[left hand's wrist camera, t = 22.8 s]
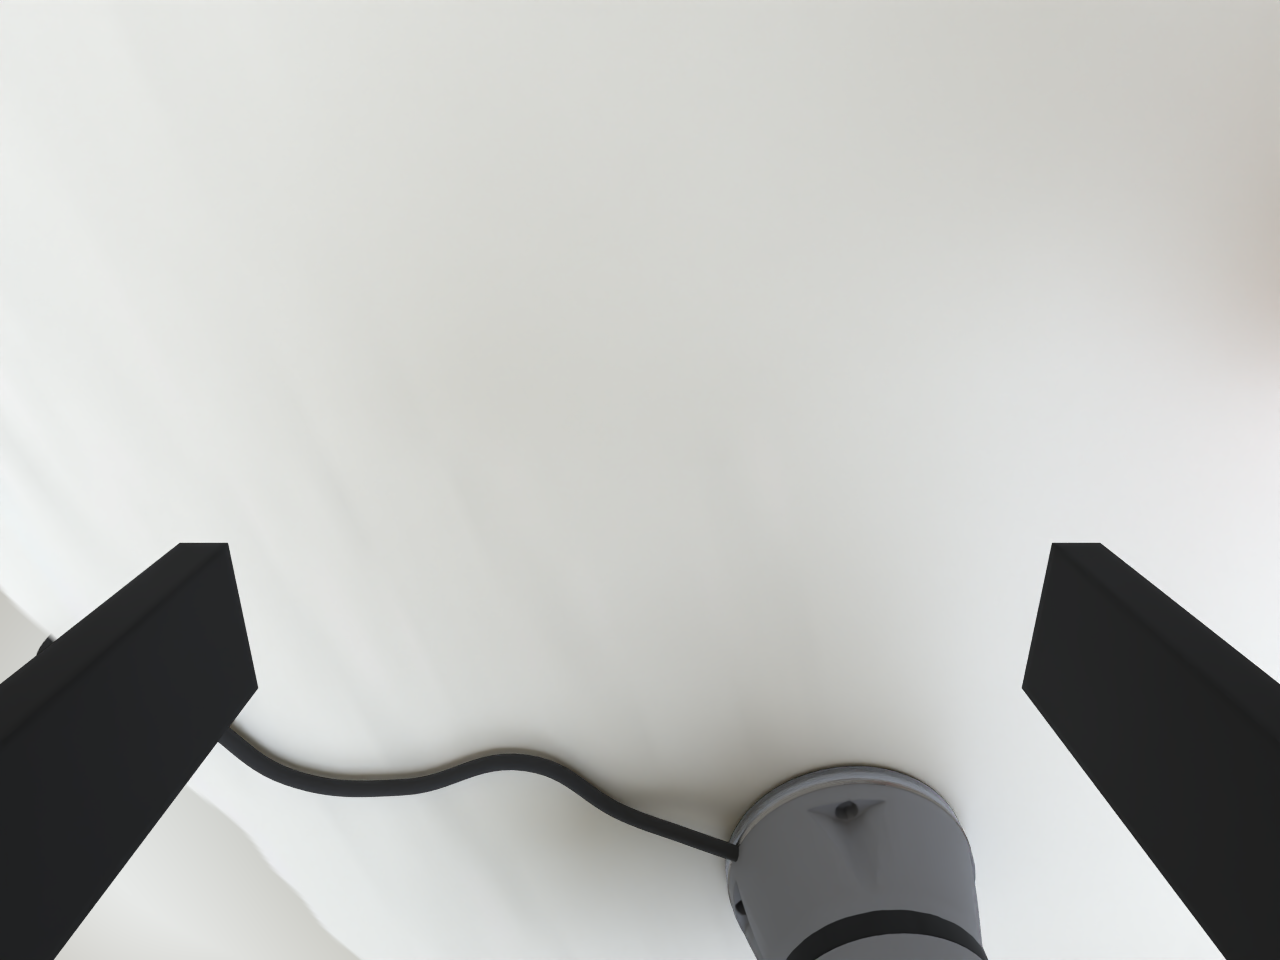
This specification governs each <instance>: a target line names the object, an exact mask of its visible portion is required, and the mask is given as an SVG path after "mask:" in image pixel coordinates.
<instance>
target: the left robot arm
mask: <svg viewBox="0 0 1280 960" xmlns="http://www.w3.org/2000/svg"><path fill="white" fill-rule="evenodd" d="M257 689H258V685H257V680H256V675H255V670H254V665H253V661H252V656H251V651H250V646H249V642H248V637H247V632H246V627H245V622H244V618H243V613H242V608H241V603H240V599H239V594H238V589H237V584H236V579H235V575H234V570H233V565H232V560H231V555H230V551H229V546H228V543H179V544H178V545H177V546H175V547H174V548H173V549H171V550H170V551H169V552H168V553H166V554H165V555H164V556H163V557H161V558H160V559H159V560H157V561H156V562H155V563H154V564H152V565H151V566H150V567H149V568H147V569H146V570H145V571H143V572H142V573H141V574H140V575H138V576H137V577H136V578H135V579H133V580H132V581H131V582H129V583H128V584H127V585H126V586H124V587H123V588H122V589H121V590H119V591H118V592H117V593H115V594H114V595H113V596H112V597H110V598H109V599H108V600H107V601H105V602H104V603H103V604H102V605H100V606H99V607H98V608H96V609H95V610H94V611H93V612H91V613H90V614H89V615H88V616H86V617H85V618H84V619H82V620H81V621H80V622H79V623H77V624H76V625H75V626H74V627H72V628H71V629H70V630H68V631H67V632H66V633H65V634H63V635H62V636H61V637H60V638H58V639H57V640H55V639H54V638H53V637H52V636H51V635H49V636H48V637H47V638H46V640H45V641H44V642H43V643H42V645H41V646H40V648H39V650H38V652H37V654H36V656H35V657H34V658H33V659H32V660H30V661H29V662H28V663H27V664H25V665H24V666H23V667H21V668H20V669H19V670H18V671H16V672H15V673H14V674H13V675H11V676H10V677H9V678H7V679H6V680H5V681H4V682H2V683H1V684H0V960H54V959H55V957H56V956H57V955H58V953H59V952H60V951H61V949H62V948H63V947H64V945H65V944H66V943H67V941H68V940H69V939H70V937H71V936H72V935H73V933H74V932H75V931H76V929H77V928H78V927H79V925H80V924H81V923H82V921H83V920H84V919H85V917H86V916H87V915H88V913H89V912H90V911H91V909H92V908H93V907H94V905H95V904H96V903H97V902H98V900H99V899H100V898H101V896H102V895H103V894H104V892H105V891H106V890H107V888H108V887H109V886H110V884H111V883H112V882H113V880H114V879H115V878H116V876H117V875H118V874H119V872H120V871H121V870H122V868H123V867H124V866H125V864H126V863H127V862H128V860H129V859H130V858H131V856H132V855H133V854H134V852H135V851H136V850H137V848H138V847H139V846H140V844H141V843H142V842H143V840H144V839H145V838H146V836H147V835H148V834H149V832H150V831H151V830H152V828H153V827H154V826H155V824H156V823H157V822H158V820H159V819H160V818H161V817H162V815H163V814H164V813H165V811H166V810H167V809H168V807H169V806H170V805H171V803H172V802H173V801H174V799H175V798H176V797H177V795H178V794H179V793H180V791H181V790H182V789H183V787H184V786H185V785H186V783H187V782H188V781H189V779H190V778H191V777H192V775H193V774H194V773H195V771H196V770H197V769H198V767H199V766H200V765H201V763H202V762H203V761H204V759H205V758H206V757H207V755H208V754H209V753H210V751H211V750H212V749H213V747H214V746H215V745H216V743H217V742H219V743H220V744H221V745H223V746H224V747H225V748H226V749H227V750H229V751H230V752H231V753H232V754H233V755H235V756H236V757H237V758H238V759H240V760H241V761H242V762H244V763H245V764H246V765H248V766H249V767H251V768H252V769H254V770H255V771H257V772H259V773H260V774H262V775H264V776H266V777H268V778H270V779H272V780H274V781H276V782H279V783H282V784H284V785H287V786H290V787H293V788H297V789H300V790H304V791H308V792H313V793H318V794H324V795H331V796H342V797H380V796H401V795H412V794H419V793H424V792H429V791H433V790H436V789H440V788H443V787H446V786H449V785H451V784H454V783H457V782H460V781H462V780H465V779H468V778H471V777H474V776H477V775H480V774H484V773H488V772H493V771H501V770H519V771H528V772H533V773H537V774H541V775H544V776H547V777H549V778H552V779H554V780H556V781H558V782H560V783H561V784H563V785H565V786H566V787H568V788H569V789H571V790H572V791H574V792H575V793H577V794H578V795H579V796H581V797H582V798H584V799H585V800H586V801H588V802H589V803H591V804H592V805H594V806H595V807H597V808H598V809H600V810H601V811H603V812H605V813H606V814H608V815H610V816H612V817H614V818H616V819H618V820H620V821H622V822H625V823H627V824H629V825H632V826H634V827H637V828H640V829H642V830H645V831H648V832H651V833H654V834H656V835H659V836H662V837H665V838H668V839H671V840H674V841H677V842H680V843H683V844H685V845H688V846H691V847H694V848H697V849H699V850H702V851H705V852H708V853H711V854H714V855H717V856H720V857H722V858H725V859H726V866H725V867H726V877H727V885H728V893H729V898H730V902H731V905H732V908H733V911H734V914H735V917H736V919H737V921H738V923H739V925H740V927H741V929H742V931H743V933H744V934H745V936H746V939H747V941H748V943H749V945H750V947H751V949H752V951H753V952H754V954H755V956H756V958H757V960H988V958H987V956H986V954H985V951H984V949H983V947H982V939H981V930H980V920H979V911H978V903H977V895H976V888H975V865H974V860H973V856H972V853H971V848H970V845H969V842H968V839H967V837H966V835H965V833H964V831H963V829H962V827H961V825H960V823H959V821H958V819H957V817H956V815H955V813H954V812H953V810H952V809H951V807H950V806H949V805H948V803H947V802H946V801H945V800H944V799H943V798H942V797H941V796H940V795H939V794H938V793H936V792H935V791H934V790H933V789H931V788H930V787H928V786H927V785H925V784H924V783H922V782H920V781H918V780H917V779H914V778H912V777H910V776H907V775H905V774H902V773H899V772H896V771H891V770H887V769H882V768H876V767H865V766H846V767H835V768H829V769H823V770H819V771H815V772H811V773H808V774H805V775H802V776H799V777H797V778H795V779H792V780H790V781H788V782H786V783H784V784H782V785H780V786H778V787H777V788H775V789H774V790H772V791H770V792H769V793H767V794H766V795H765V796H764V797H762V798H761V799H760V800H758V801H757V802H756V803H755V804H754V805H753V806H752V807H751V808H750V809H749V810H748V811H747V813H746V814H745V815H744V816H743V818H742V819H741V820H740V822H739V823H738V825H737V827H736V828H735V830H734V832H733V834H732V837H731V839H730V841H729V843H728V842H726V841H723V840H720V839H717V838H714V837H711V836H708V835H705V834H703V833H700V832H697V831H694V830H691V829H688V828H686V827H683V826H680V825H677V824H674V823H671V822H668V821H665V820H662V819H659V818H656V817H654V816H651V815H648V814H645V813H642V812H640V811H637V810H635V809H632V808H630V807H628V806H626V805H623V804H621V803H619V802H617V801H616V800H614V799H612V798H610V797H609V796H607V795H605V794H604V793H602V792H601V791H599V790H598V789H597V788H595V787H594V786H592V785H591V784H590V783H588V782H587V781H586V780H584V779H583V778H581V777H580V776H578V775H577V774H576V773H574V772H572V771H571V770H569V769H568V768H566V767H564V766H562V765H560V764H558V763H555V762H553V761H550V760H548V759H544V758H541V757H537V756H531V755H524V754H499V755H492V756H487V757H483V758H479V759H476V760H472V761H470V762H467V763H464V764H461V765H458V766H456V767H453V768H450V769H448V770H445V771H442V772H439V773H436V774H432V775H428V776H424V777H418V778H410V779H397V780H375V781H351V780H337V779H329V778H323V777H319V776H314V775H310V774H306V773H303V772H300V771H296V770H293V769H291V768H288V767H286V766H283V765H281V764H279V763H277V762H275V761H273V760H271V759H270V758H268V757H266V756H265V755H263V754H262V753H260V752H259V751H258V750H256V749H255V748H254V747H252V746H251V745H250V744H249V743H247V742H246V741H245V740H244V739H243V738H241V737H240V736H239V735H238V734H237V733H235V732H234V731H233V730H232V729H231V728H229V726H230V725H231V724H232V722H233V721H234V720H235V718H236V717H237V716H238V714H239V713H240V712H241V710H242V709H243V708H244V706H245V705H246V704H247V702H248V701H249V700H250V698H251V697H252V696H253V694H254V693H255V692H256V690H257ZM1022 689H1023V690H1024V692H1025V693H1026V694H1027V696H1028V697H1029V698H1030V700H1031V701H1032V702H1033V704H1034V705H1035V706H1036V708H1037V709H1038V710H1039V712H1040V713H1041V714H1042V716H1043V717H1044V718H1045V720H1046V721H1047V722H1048V724H1049V725H1050V726H1051V728H1052V729H1053V730H1054V732H1055V733H1056V734H1057V736H1058V737H1059V738H1060V739H1061V741H1062V742H1063V743H1064V745H1065V746H1066V747H1067V749H1068V750H1069V751H1070V753H1071V754H1072V755H1073V757H1074V758H1075V759H1076V761H1077V762H1078V763H1079V765H1080V766H1081V767H1082V769H1083V770H1084V771H1085V773H1086V774H1087V775H1088V777H1089V778H1090V779H1091V781H1092V782H1093V783H1094V785H1095V786H1096V787H1097V789H1098V790H1099V791H1100V793H1101V794H1102V795H1103V797H1104V798H1105V799H1106V801H1107V802H1108V803H1109V805H1110V806H1111V807H1112V809H1113V810H1114V811H1115V813H1116V814H1117V815H1118V817H1119V818H1120V819H1121V821H1122V822H1123V823H1124V824H1125V826H1126V827H1127V828H1128V830H1129V831H1130V832H1131V834H1132V835H1133V836H1134V838H1135V839H1136V840H1137V842H1138V843H1139V844H1140V846H1141V847H1142V848H1143V850H1144V851H1145V852H1146V854H1147V855H1148V856H1149V858H1150V859H1151V860H1152V862H1153V863H1154V864H1155V866H1156V867H1157V868H1158V870H1159V871H1160V872H1161V874H1162V875H1163V876H1164V878H1165V879H1166V880H1167V882H1168V883H1169V884H1170V886H1171V887H1172V888H1173V890H1174V891H1175V892H1176V894H1177V895H1178V896H1179V898H1180V899H1181V900H1182V902H1183V903H1184V904H1185V906H1186V907H1187V908H1188V909H1189V911H1190V912H1191V913H1192V915H1193V916H1194V917H1195V919H1196V920H1197V921H1198V923H1199V924H1200V925H1201V927H1202V928H1203V929H1204V931H1205V932H1206V933H1207V935H1208V936H1209V937H1210V939H1211V940H1212V941H1213V943H1214V944H1215V945H1216V947H1217V948H1218V949H1219V951H1220V952H1221V953H1222V955H1223V956H1224V957H1225V959H1226V960H1280V684H1279V683H1278V682H1276V681H1275V680H1274V679H1273V678H1271V677H1270V676H1269V675H1268V674H1266V673H1265V672H1264V671H1262V670H1261V669H1260V668H1259V667H1257V666H1256V665H1255V664H1254V663H1252V662H1251V661H1250V660H1248V659H1247V658H1246V657H1245V656H1243V655H1242V654H1241V653H1240V652H1238V651H1237V650H1236V649H1234V648H1233V647H1232V646H1231V645H1229V644H1228V643H1227V642H1226V641H1224V640H1223V639H1222V638H1220V637H1219V636H1218V635H1217V634H1215V633H1214V632H1213V631H1212V630H1210V629H1209V628H1208V627H1206V626H1205V625H1204V624H1203V623H1201V622H1200V621H1199V620H1198V619H1196V618H1195V617H1194V616H1192V615H1191V614H1190V613H1189V612H1187V611H1186V610H1185V609H1184V608H1182V607H1181V606H1180V605H1178V604H1177V603H1176V602H1175V601H1173V600H1172V599H1171V598H1170V597H1168V596H1167V595H1166V594H1165V593H1163V592H1162V591H1161V590H1159V589H1158V588H1157V587H1156V586H1154V585H1153V584H1152V583H1151V582H1149V581H1148V580H1147V579H1145V578H1144V577H1143V576H1142V575H1140V574H1139V573H1138V572H1137V571H1135V570H1134V569H1133V568H1131V567H1130V566H1129V565H1128V564H1126V563H1125V562H1124V561H1123V560H1121V559H1120V558H1119V557H1117V556H1116V555H1115V554H1114V553H1112V552H1111V551H1110V550H1109V549H1107V548H1106V547H1105V546H1103V545H1102V544H1101V543H1052V546H1051V551H1050V555H1049V560H1048V565H1047V570H1046V575H1045V579H1044V584H1043V589H1042V594H1041V599H1040V603H1039V608H1038V613H1037V618H1036V622H1035V627H1034V632H1033V637H1032V642H1031V646H1030V651H1029V656H1028V661H1027V665H1026V670H1025V675H1024V680H1023V685H1022Z"/></svg>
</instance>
